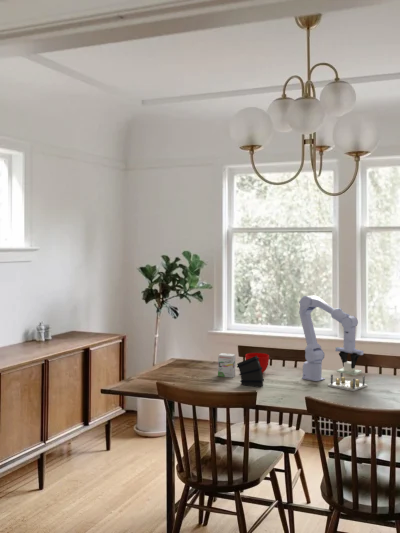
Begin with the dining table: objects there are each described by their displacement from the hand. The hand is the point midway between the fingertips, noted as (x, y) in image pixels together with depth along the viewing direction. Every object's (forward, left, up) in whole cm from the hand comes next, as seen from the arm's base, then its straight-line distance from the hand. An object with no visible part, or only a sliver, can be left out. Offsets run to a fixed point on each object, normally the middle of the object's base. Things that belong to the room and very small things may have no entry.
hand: (348, 367), depth 286 cm
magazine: (-35, -35, -10) cm, 50 cm away
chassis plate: (0, -1, -9) cm, 9 cm away
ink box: (-57, -28, -10) cm, 64 cm away
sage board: (0, +1, -2) cm, 3 cm away
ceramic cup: (-51, -8, -10) cm, 53 cm away
